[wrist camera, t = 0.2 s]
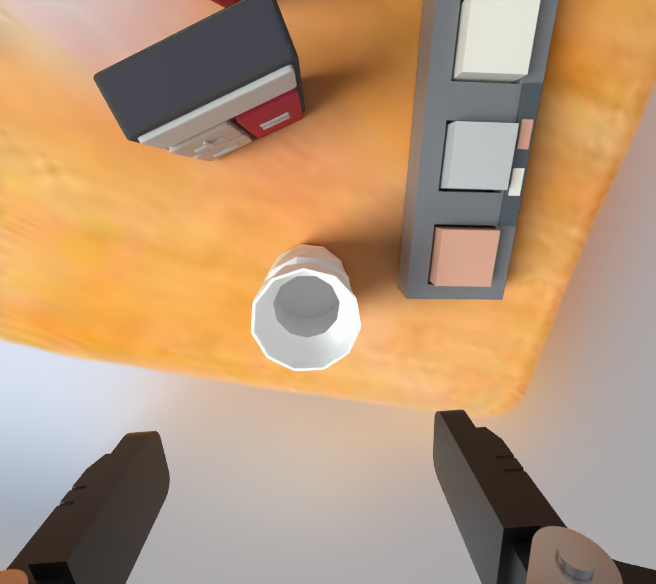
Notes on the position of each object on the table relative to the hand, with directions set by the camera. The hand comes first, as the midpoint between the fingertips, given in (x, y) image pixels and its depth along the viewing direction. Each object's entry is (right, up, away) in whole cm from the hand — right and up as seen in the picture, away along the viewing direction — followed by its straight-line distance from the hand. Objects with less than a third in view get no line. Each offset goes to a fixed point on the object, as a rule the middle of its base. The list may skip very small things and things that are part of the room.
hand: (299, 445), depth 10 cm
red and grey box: (-7, +21, +23) cm, 32 cm away
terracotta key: (+14, +9, +25) cm, 30 cm away
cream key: (+14, +26, +20) cm, 35 cm away
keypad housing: (+14, +18, +25) cm, 34 cm away
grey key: (+14, +17, +23) cm, 32 cm away
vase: (-1, +6, +28) cm, 29 cm away
